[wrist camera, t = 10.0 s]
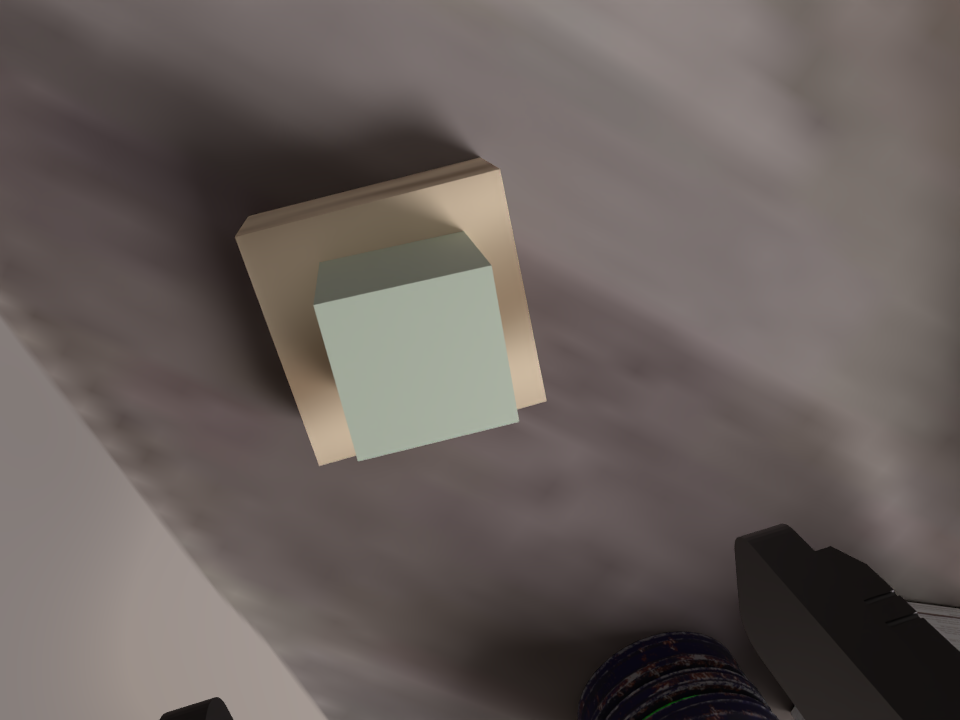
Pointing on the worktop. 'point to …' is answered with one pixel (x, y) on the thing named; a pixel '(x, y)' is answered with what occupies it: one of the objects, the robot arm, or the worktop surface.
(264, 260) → the maple box
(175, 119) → the worktop surface
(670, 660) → the storage jar
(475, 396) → the sage cube
